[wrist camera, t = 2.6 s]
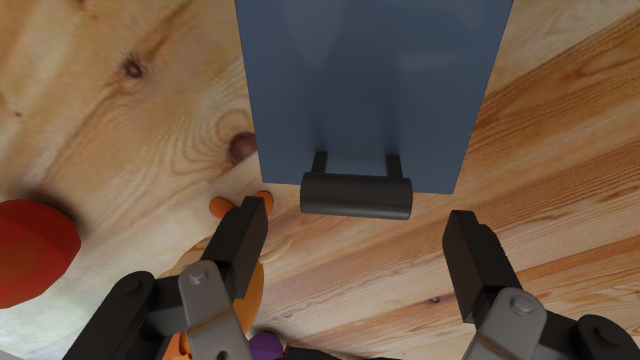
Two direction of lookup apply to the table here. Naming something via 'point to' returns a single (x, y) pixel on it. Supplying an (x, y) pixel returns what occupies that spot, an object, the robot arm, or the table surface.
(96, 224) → the table surface
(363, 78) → the lid
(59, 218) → the apple
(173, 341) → the toy figure
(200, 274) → the robot arm
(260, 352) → the purple toy maraca
